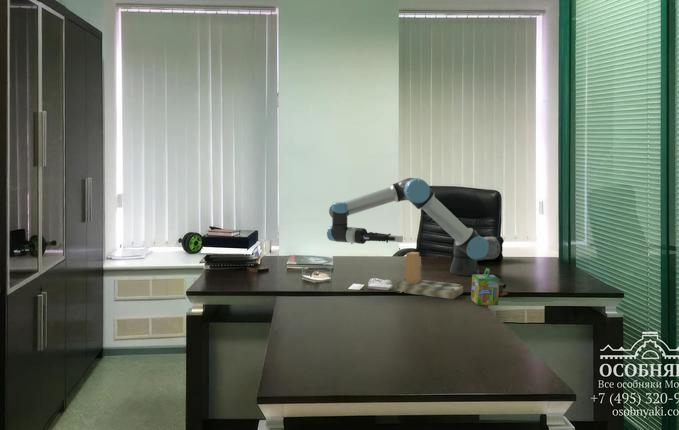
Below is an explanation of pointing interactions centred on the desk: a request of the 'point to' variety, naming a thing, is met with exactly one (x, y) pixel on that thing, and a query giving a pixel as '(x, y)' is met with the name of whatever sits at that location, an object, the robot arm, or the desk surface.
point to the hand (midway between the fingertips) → (402, 239)
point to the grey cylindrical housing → (490, 248)
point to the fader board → (430, 288)
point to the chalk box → (485, 289)
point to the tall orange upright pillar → (412, 267)
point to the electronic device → (501, 286)
